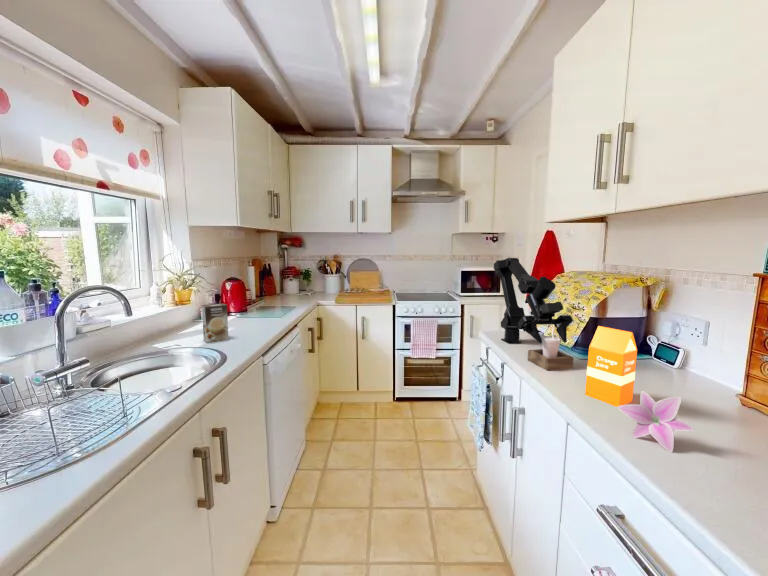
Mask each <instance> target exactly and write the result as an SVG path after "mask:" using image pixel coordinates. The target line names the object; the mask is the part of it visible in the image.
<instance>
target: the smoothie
mask: <svg viewBox="0 0 768 576" xmlns="http://www.w3.org/2000/svg"><path fill="white" fill-rule="evenodd" d="M551 332H552V333H551V335H542V336H540V337H541V340H542V343H541V345H542V349H543V356H545V357H548V358H553V357H557V353H558V351H559V348H560V343H561V341H562V339H561V337H558V336H554V335H555V325H554V326H552V330H551Z"/></svg>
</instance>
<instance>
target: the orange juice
mask: <svg viewBox="0 0 768 576" xmlns="http://www.w3.org/2000/svg"><path fill="white" fill-rule="evenodd" d="M637 355H638V348H637V344H636V340H635V336H634V333H633V332H632V331H628V330H623V329H617V328H612V327H608V326H602V325H598V326H597V328H596V330H595V333H594V335H593V338H592V340H591V342H590V344H589V347H588V355H587V356H588V357H587V366H586V379H585V380H586V381H585V390H584V391H585V394H584V396H587V397H589V396H590V398H593V399H595V400H597V399H598V400H597V401H600V400H601V401H600V402H603V403H605V402H606V404H609V405H612V406H613V407H616V408H617V407H618V406H620V405H628V404H630V403H631V402H633V397H634V386H635V379H636V367H637Z"/></svg>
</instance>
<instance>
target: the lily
mask: <svg viewBox="0 0 768 576" xmlns="http://www.w3.org/2000/svg"><path fill="white" fill-rule="evenodd" d="M681 402H682V397H681V396H678V395H676V396H675V395H674V396H669V397H666V398H662V399H660V400H657V401H655V400H654V399H653V397H651V396H650V394H649V393H647V392H646V391H644V390H640V395H639V404H638V403H637V404H635V403H634V404H633V403H632V404H630V403H628V404H625V405H620V406H618V407H616V408H617V410H619V411H620V413H622V414H624V415H625V416H626V417H628V418H629V419H631V420H632V421H633V422H634V421H635V426H634V428H633V431H632V434H631V436H632V438H635V439H637V438H642V437H645V436H648V435H651V437H653V438H654V440H656V442H658V444H660V446H662V448H664V450H666V451H667V452H670V453H672V452H673V451H674V446H675V443H674V442H675V441H674V438H675V437H674V436H675V435H674V432H693V431H695V429H694V428H693V427H692V426H691V424H689V423H687V422H685V421H683V420H682V419H680V418H678V417H676V416H677V414H678V412H679V409H680V406H681Z"/></svg>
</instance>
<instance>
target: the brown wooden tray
mask: <svg viewBox="0 0 768 576" xmlns="http://www.w3.org/2000/svg"><path fill="white" fill-rule="evenodd" d="M527 361H528V362H530V363H532V364H533V365H536V366H538V367H539V368H542V369H543V370H545V371H554V370H555V371H557V370H566V369H567V370H568V369H574V368H573V367H574V356H572V355H569V354H567V353H565V352H562V351H559V350H558V353H557V357H553V358H548V357H545V356H543V348H541V349H529V350H527Z"/></svg>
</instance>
